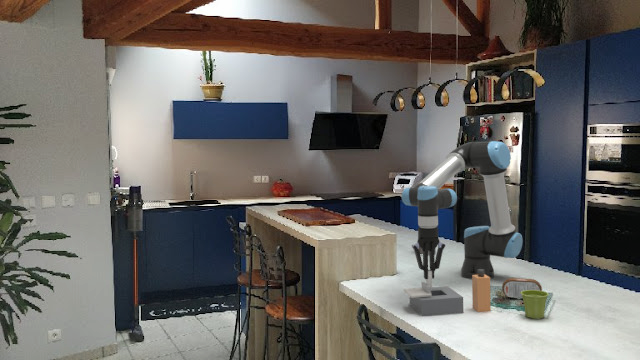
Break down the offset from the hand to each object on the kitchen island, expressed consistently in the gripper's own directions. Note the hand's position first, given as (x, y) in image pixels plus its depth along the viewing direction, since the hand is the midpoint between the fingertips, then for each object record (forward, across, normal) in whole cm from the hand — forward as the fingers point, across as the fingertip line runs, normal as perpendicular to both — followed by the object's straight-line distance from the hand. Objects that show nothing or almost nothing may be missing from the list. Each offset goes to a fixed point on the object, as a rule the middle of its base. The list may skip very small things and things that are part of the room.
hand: (429, 287), depth 217 cm
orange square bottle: (+9, -18, +6) cm, 21 cm away
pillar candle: (+9, -32, -97) cm, 102 cm away
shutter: (+2, +5, 0) cm, 5 cm away
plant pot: (+9, -33, +18) cm, 39 cm away
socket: (+9, -2, 0) cm, 9 cm away
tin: (+9, -40, -3) cm, 41 cm away
